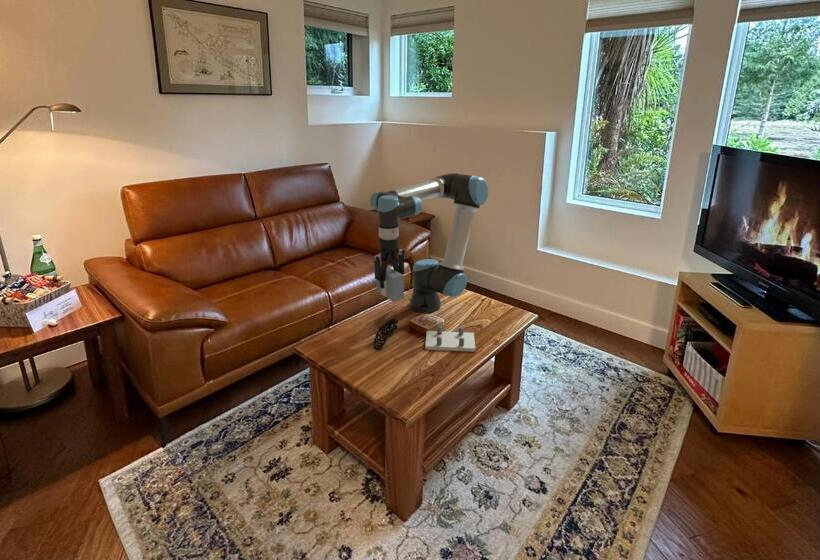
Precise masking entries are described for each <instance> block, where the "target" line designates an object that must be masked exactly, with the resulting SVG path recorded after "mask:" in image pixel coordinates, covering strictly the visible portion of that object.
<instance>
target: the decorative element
mask: <svg viewBox="0 0 820 560" xmlns="http://www.w3.org/2000/svg"><path fill="white" fill-rule="evenodd" d="M399 321H400V320H399V318H398V319H397V318H395V317H392V318H390V319H389V321H387V322H385V323H384V324H382V325H381V326H379V327H378V330H377V332H376V333H375V338H374V339H373V349H374V350H375V351H376V350H377V351H381V350H382V349H383V348H384V345H385V344H386V343H387V341H388V340H387V339H388V337H389V335H390V334H392V333H393V332H395V331H397V330H398V325H397V324H398V323H399Z"/></svg>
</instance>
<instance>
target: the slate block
mask: <svg viewBox="0 0 820 560" xmlns="http://www.w3.org/2000/svg"><path fill="white" fill-rule="evenodd" d="M375 280H376V281H375V282H376V293H378V294H380V295H381V296H383V297H385V298H386V299H387V300H389V301H391V302H392V303H395V302H398V301H402V300H405V275H404V274H401V273H399V272H397V271H395V270H394V269H393V268H391V267H389V266H388V265H387V271H386V276H385V280H386V285H387V296H384V295H382V293H381V288H380V281H378V280H377V279H375Z"/></svg>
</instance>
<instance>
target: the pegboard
mask: <svg viewBox="0 0 820 560" xmlns="http://www.w3.org/2000/svg"><path fill="white" fill-rule="evenodd" d="M464 329H465V328H464V327H462V326H459V327H458V331H443V326H441V325H438V326H437V330H426V337H425V346H424V349H425V350H430V351H432V350H433V351H448V352H449V351H452V352H455V351H456V352H472V353H475V352H476V343H475V333H474V332H469V331H468V332H465V330H464Z"/></svg>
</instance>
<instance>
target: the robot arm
mask: <svg viewBox="0 0 820 560" xmlns="http://www.w3.org/2000/svg"><path fill="white" fill-rule="evenodd" d="M488 197H489V185H488V183H487V181H486V179H484V177H480V176H476V175H470V174H464V173H457V172H456V173H454V172H453V173H452V172H451V173H446V174H442V175H438V176H437V175H436V176H435V177H431V178H430V179H429V180H428V181H424V182H421V183H417V184H412V185H408V186H405V187H401V188H398V189H393V190H389V191H388V190H387V191H381V190H378V191H377V190H376V191H373V193H372V194H371V195H370V198H369V199H370V200H369V204H370V207H372V209H374V210H376V211H377V217H378V219H377V221H378V237H379V238H378V247H379V252H378V254H374V255H373V256H372V258H373V261H374V280H376V279H377V280H378V281H380V288H381V293H382V295H381V296H383V295H384V296H383V297H385V296H387V285H386V280H385V276H386V271H387V266H388V265H389V263H390V262H391V266H392V269H393V270H395V271H397V272H399V273H401V274H403V275H404V274H405V254H406V251H405V250H404V249H402V248H399V246H400V238H399V235H400V234H399V231H400V229H399V227H400V226H399V225H400V224H399V222H400V220H403V219H407V218H410V217H411V218H412V217H415V216H417V215H419V214H421V213H422V210H423V201H426V200H430V199H435V200H439V199H448V200H449V199H450V200H453V202H452V203H453V206H454V207H455V208H454V209H455V210H454V213H453V218H452V223H451V226H450V231H449V235H448V239H447V244H446V250H445V252H444V253H445V254H444V256H443V260H442V261H440V262H439V261H438V260H437V259H433V258H431V259H430V258H429V259H428V258H427V259H420V260H418V261H416V262H415V263H413V267H412V268H413V269H412V281H413V282H412V285H413V286H412V287H413V288H412V289H413V290H412V294H411V297H410V299H409V308H410V309H411V310H412V311H414V312H418V313H426V314H428V313H434V312H437V311H439V310H440V308H441V303H442V302H441V299H440V296H439V294H441V295H444V296H446V297H450V298H457V297H459V296H460V295H461V294H462V293H463V292H464V291H465V289H466V287H467V284H468V278H467V275H466V274H465V268H464V266H463V264H464V263H463V262H464V258H465V254H466V251H467V246H468V241H469V238H470V233H471V228H472V225H473V221H474V216H475V213H476V212H477V211H479V210H480V207H481V206H482V205H484V204H485V203H486V202H487V200H488Z"/></svg>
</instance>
